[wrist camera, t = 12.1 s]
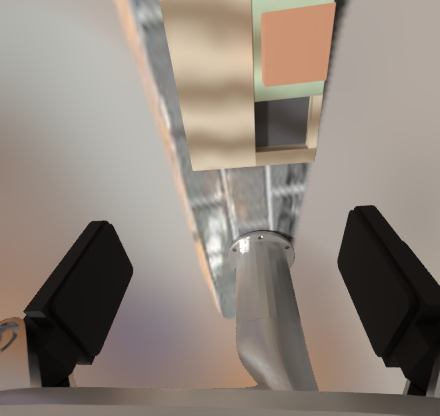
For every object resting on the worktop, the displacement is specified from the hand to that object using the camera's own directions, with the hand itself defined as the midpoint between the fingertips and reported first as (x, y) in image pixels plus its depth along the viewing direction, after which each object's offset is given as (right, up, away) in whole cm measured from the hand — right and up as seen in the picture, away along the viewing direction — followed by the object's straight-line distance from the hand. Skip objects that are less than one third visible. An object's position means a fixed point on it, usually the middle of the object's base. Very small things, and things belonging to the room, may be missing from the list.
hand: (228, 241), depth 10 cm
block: (+7, +19, +16) cm, 26 cm away
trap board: (+3, +19, +18) cm, 27 cm away
